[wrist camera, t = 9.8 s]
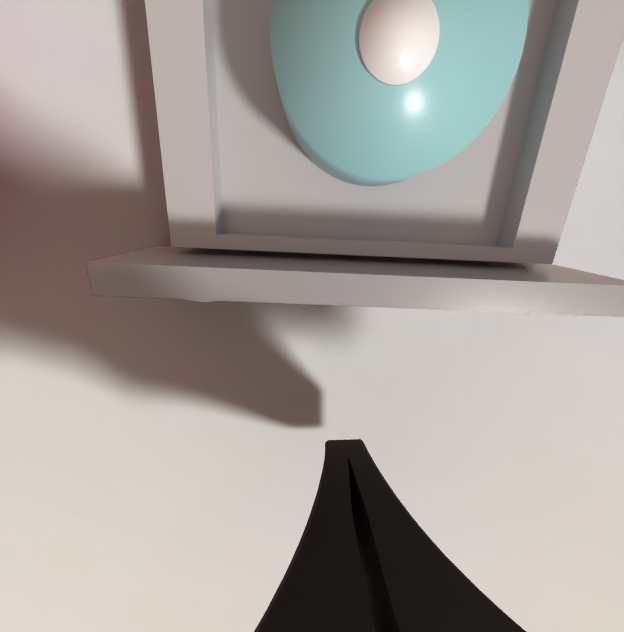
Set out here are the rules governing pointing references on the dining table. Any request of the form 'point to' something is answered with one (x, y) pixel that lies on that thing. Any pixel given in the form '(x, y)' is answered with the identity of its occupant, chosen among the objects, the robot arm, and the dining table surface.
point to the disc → (392, 79)
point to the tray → (366, 201)
